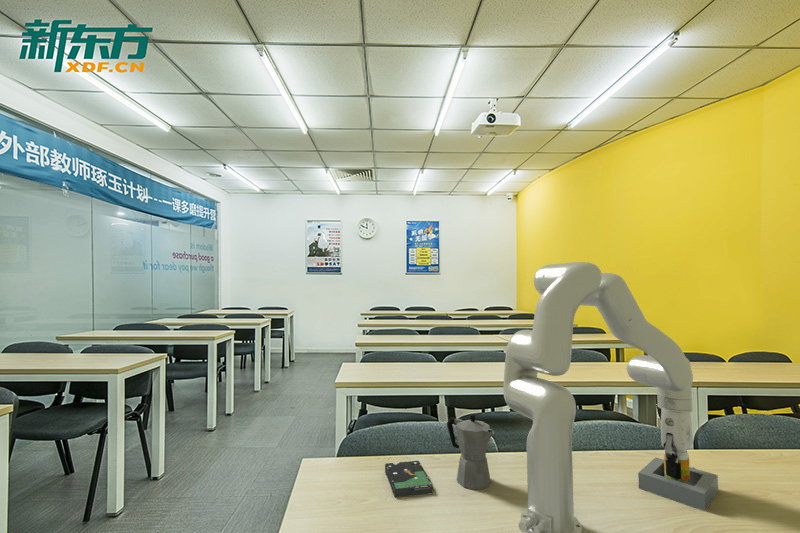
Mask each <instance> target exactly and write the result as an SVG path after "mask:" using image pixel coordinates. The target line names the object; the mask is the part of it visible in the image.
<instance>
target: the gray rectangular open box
mask: <svg viewBox="0 0 800 533" xmlns="http://www.w3.org/2000/svg"><path fill="white" fill-rule="evenodd" d="M689 469H690V484H686V483H682V482H679V481H676V480H673V479H670V478H666V477H665V467H664V458H660V457H656V456H655V457H654V458H653V459H652V460H650V462H649V463H647V465H645V466H644V467H643V468H642V469H641V470H639V472H638V473H637V474H638V475H637V476H638V489H640V490H643V491H645V492H649V493H651V494H654V495H657V496H660V497H663V498H666V499H668V500H672V501H675V502H678V503H681V504H683V505H686V506H689V507H692V508H694V509H697V510H700V511H703V512H706V511H707V509H708V508H709V507H710V505H711V503H712V502H713V500H714V498H715V497H716V495H717V494H718V492H719V479H718V478H719V476H718V474H715V473H711V472H707V471H704V470H702V469H698V468H695V467H691V466H689Z"/></svg>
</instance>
